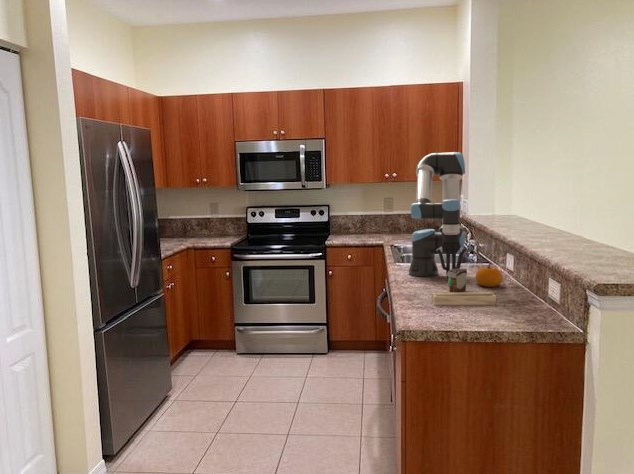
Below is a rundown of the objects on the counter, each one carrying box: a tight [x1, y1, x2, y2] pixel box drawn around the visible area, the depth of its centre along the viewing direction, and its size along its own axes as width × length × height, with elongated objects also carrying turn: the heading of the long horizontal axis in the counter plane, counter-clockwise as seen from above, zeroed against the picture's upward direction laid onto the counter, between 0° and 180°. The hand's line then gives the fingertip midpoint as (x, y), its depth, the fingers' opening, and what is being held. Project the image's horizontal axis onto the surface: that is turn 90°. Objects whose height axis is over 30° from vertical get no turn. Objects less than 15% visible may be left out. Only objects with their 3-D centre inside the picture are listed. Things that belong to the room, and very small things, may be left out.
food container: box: [447, 268, 468, 293], centre depth 210 cm, size 12×6×10 cm, turn 141°
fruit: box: [475, 264, 503, 288], centre depth 221 cm, size 12×12×10 cm
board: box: [431, 291, 497, 306], centre depth 194 cm, size 6×24×4 cm, turn 85°
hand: (450, 284), depth 219 cm, fingers closed
